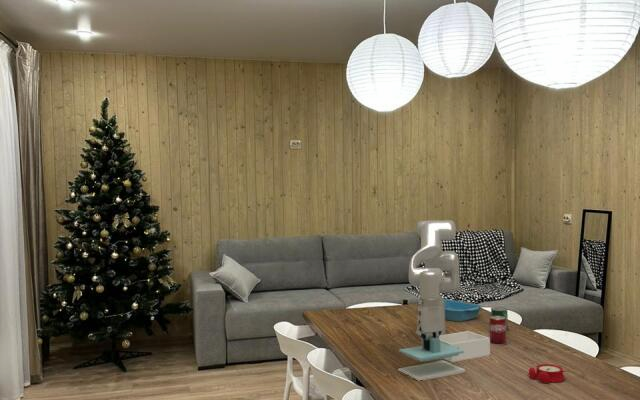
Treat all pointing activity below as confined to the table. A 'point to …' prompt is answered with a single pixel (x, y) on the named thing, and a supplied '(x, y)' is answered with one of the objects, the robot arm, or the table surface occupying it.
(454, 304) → the casserole dish
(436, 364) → the mat
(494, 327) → the soda can
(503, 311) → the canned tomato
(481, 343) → the tub
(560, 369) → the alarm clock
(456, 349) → the lid
